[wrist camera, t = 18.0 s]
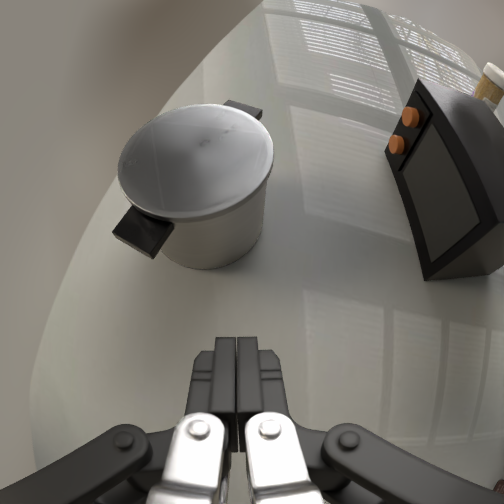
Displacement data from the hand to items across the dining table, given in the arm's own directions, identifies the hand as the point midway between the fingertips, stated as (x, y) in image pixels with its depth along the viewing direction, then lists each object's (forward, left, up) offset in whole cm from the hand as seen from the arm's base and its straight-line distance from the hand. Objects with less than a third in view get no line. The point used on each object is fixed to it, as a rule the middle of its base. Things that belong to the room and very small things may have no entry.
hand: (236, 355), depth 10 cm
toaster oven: (+22, +14, -11) cm, 28 cm away
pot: (-3, +13, -11) cm, 17 cm away
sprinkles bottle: (+36, +30, -11) cm, 48 cm away
